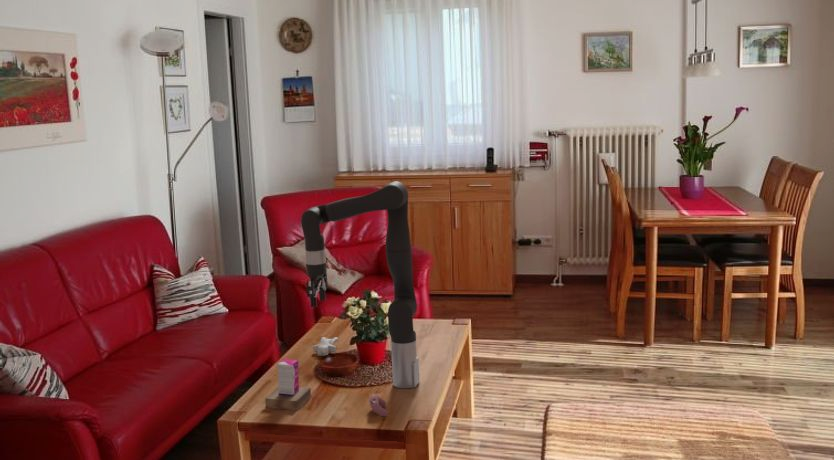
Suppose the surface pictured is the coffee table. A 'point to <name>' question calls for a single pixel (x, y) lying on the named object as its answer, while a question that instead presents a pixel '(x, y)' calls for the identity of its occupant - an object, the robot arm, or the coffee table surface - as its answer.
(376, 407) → the pink rounded lump
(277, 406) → the grey wooden square block
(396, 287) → the robot arm
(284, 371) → the supplement box
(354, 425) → the coffee table surface
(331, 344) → the bunny figurine
